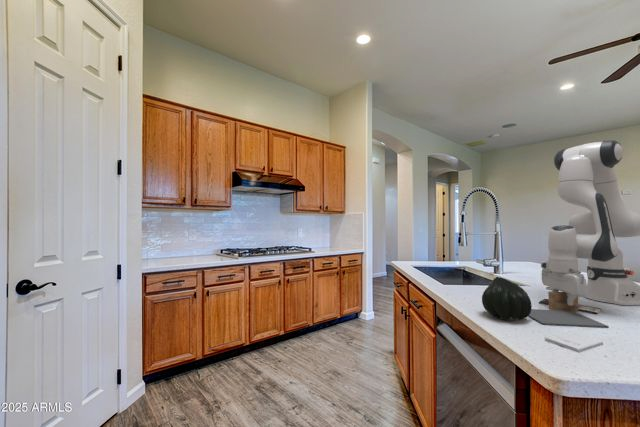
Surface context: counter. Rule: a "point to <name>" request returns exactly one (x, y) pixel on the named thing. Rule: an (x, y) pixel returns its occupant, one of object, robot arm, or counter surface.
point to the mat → (563, 318)
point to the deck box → (561, 302)
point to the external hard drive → (574, 341)
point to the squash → (506, 300)
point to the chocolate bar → (580, 307)
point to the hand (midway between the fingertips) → (563, 302)
